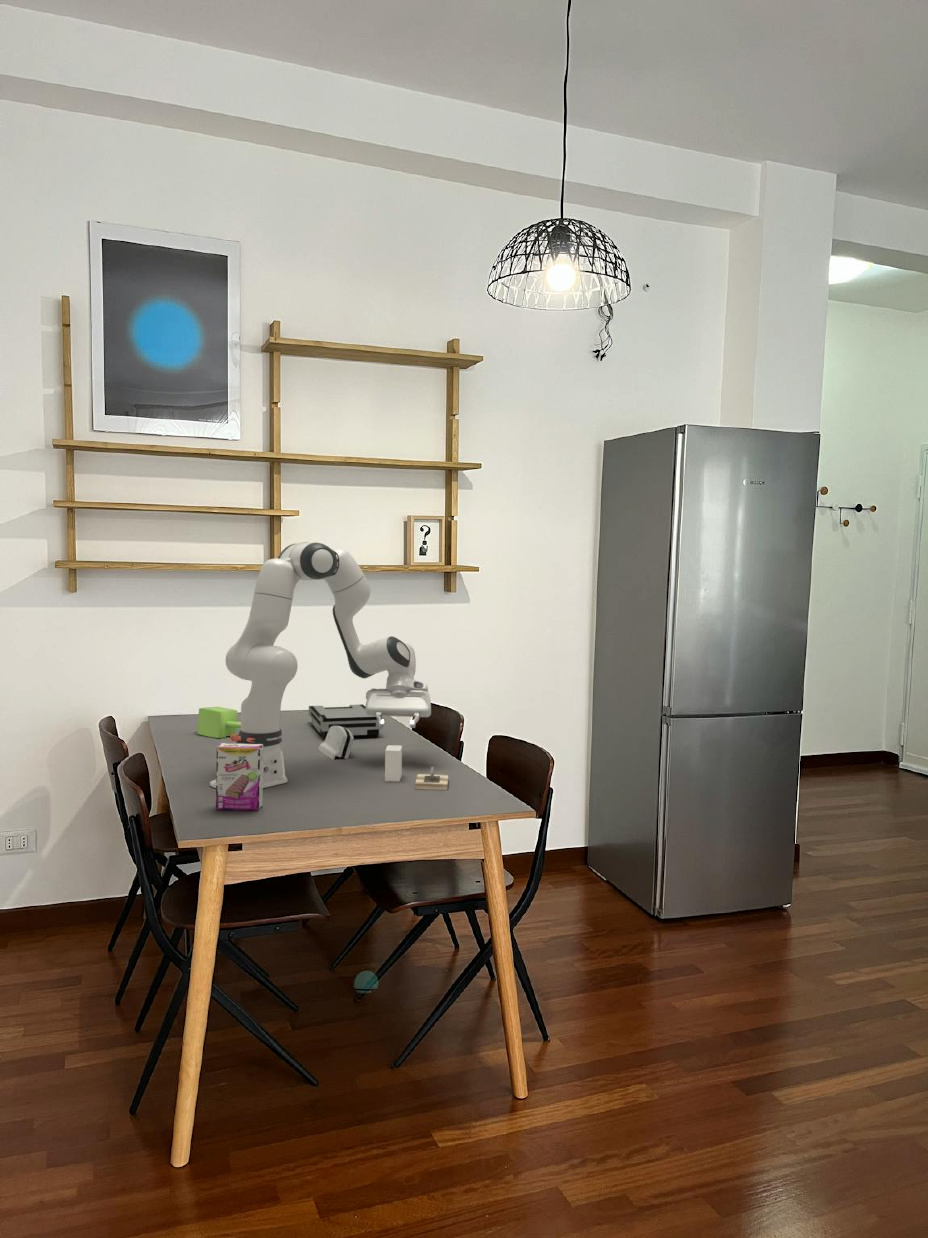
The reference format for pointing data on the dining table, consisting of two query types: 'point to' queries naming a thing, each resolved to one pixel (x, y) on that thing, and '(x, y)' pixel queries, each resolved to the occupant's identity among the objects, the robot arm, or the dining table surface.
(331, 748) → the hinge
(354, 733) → the office tray
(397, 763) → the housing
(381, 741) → the dining table surface
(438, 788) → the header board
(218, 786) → the candy bar box
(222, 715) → the gearbox
